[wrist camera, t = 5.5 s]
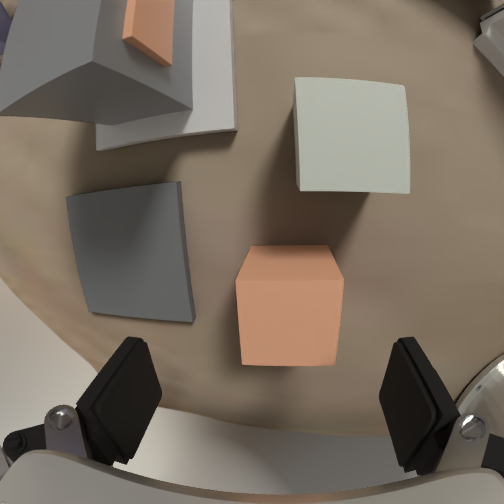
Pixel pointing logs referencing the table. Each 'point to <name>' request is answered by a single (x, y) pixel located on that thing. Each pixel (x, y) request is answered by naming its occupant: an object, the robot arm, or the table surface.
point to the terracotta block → (289, 305)
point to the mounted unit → (123, 67)
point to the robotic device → (4, 27)
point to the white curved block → (492, 37)
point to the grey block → (351, 136)
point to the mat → (133, 251)
